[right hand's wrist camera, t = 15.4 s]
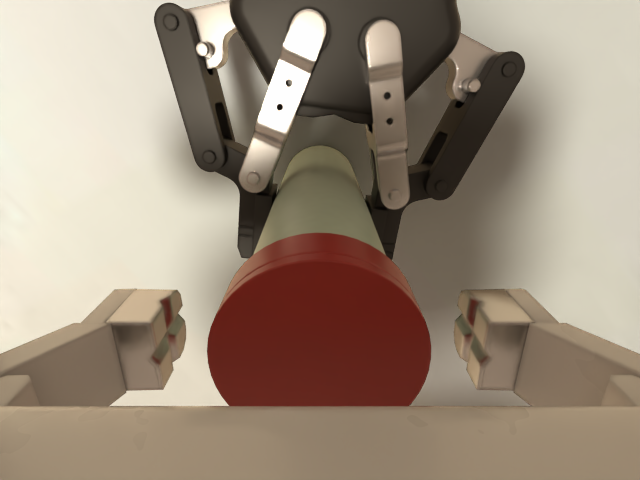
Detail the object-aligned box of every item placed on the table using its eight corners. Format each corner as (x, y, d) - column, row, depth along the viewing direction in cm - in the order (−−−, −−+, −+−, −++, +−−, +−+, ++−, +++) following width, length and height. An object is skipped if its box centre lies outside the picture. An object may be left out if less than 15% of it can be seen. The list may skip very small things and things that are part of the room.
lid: (193, 261, 9) (169, 295, 8) (391, 206, 9) (406, 231, 7) (261, 411, 11) (252, 461, 9) (430, 372, 10) (449, 418, 9)
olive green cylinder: (319, 130, 23) (318, 219, 8) (368, 180, 24) (451, 344, 9) (270, 180, 24) (187, 344, 9) (319, 226, 25) (319, 441, 10)
